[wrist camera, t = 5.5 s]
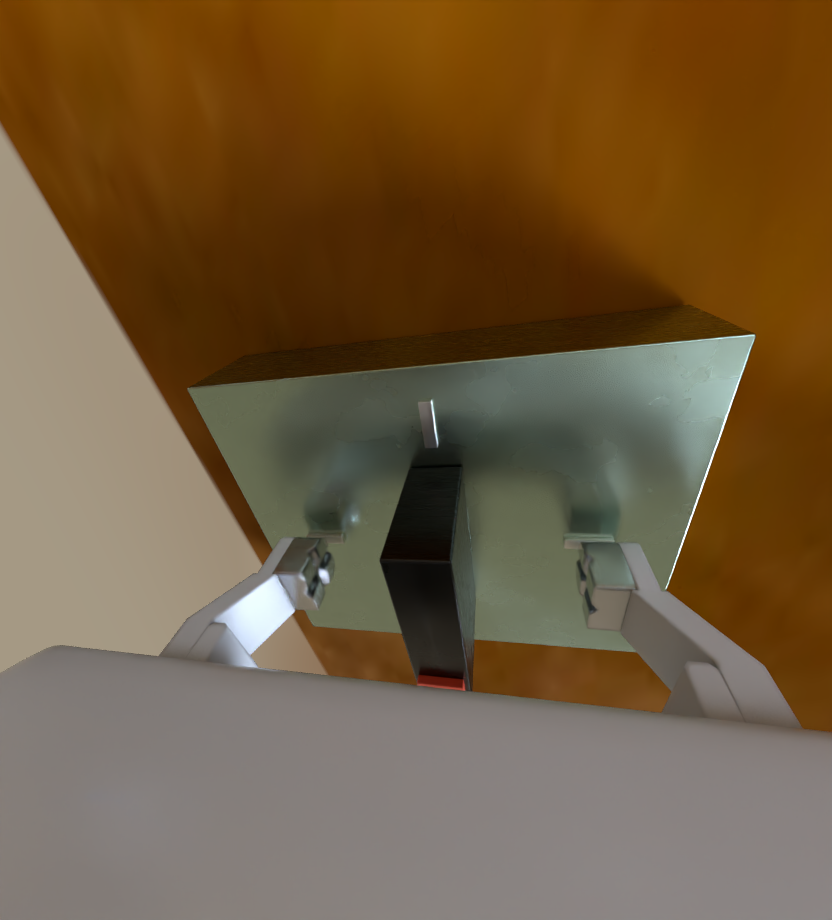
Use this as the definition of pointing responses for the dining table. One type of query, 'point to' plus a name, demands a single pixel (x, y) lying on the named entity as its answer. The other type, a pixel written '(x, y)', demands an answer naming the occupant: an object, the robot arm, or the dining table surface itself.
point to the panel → (487, 452)
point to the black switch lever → (433, 577)
